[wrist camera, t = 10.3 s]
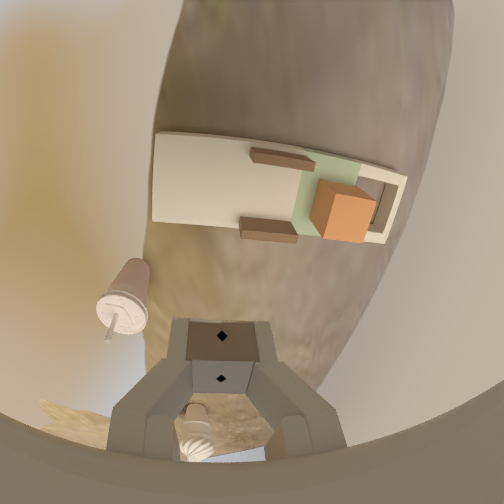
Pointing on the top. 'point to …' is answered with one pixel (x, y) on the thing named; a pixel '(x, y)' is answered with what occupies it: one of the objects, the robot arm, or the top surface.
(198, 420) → the soft serve ice cream cone
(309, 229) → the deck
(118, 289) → the smoothie
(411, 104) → the top surface
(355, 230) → the block
